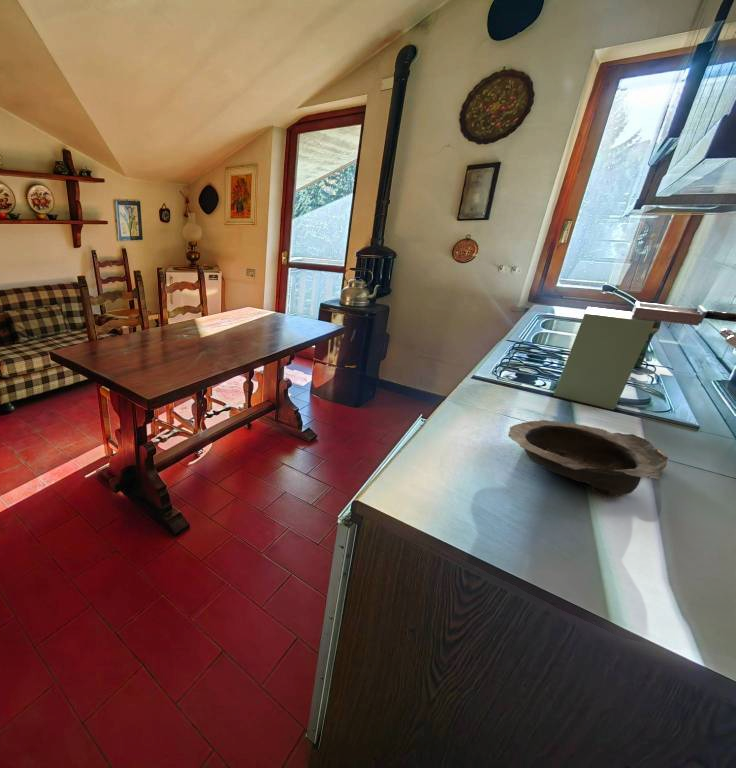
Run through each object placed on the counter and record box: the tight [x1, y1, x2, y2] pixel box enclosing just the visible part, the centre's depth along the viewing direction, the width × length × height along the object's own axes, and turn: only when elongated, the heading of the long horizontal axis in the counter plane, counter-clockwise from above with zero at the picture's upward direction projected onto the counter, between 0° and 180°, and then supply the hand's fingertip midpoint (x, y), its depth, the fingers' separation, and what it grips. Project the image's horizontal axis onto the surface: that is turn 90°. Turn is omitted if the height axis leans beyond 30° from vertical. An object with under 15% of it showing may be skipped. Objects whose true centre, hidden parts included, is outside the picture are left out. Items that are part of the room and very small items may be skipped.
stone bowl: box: [507, 419, 669, 498], centre depth 83 cm, size 25×25×9 cm
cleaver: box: [631, 301, 736, 327], centre depth 100 cm, size 23×10×4 cm, turn 46°
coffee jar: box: [634, 320, 662, 368], centre depth 145 cm, size 10×8×19 cm
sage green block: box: [552, 306, 655, 411], centre depth 115 cm, size 14×12×26 cm
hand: (725, 333), depth 98 cm, fingers open, 8 cm apart
